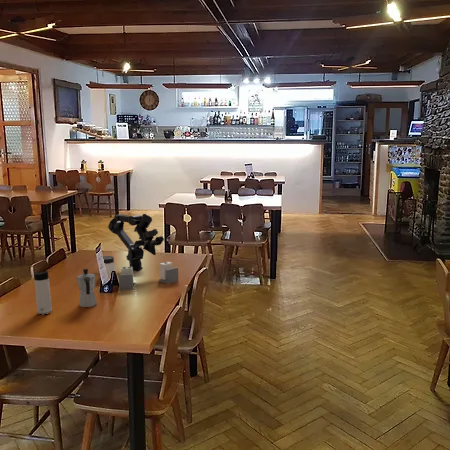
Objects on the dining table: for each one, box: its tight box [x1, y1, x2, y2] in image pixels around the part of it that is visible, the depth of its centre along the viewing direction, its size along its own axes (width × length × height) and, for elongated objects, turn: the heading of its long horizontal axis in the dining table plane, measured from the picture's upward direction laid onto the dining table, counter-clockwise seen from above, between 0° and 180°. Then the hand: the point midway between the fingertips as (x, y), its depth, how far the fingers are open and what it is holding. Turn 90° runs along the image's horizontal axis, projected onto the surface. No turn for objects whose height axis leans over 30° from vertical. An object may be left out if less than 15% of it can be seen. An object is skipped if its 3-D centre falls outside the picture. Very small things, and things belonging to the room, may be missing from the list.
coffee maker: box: [76, 268, 98, 308], centre depth 228 cm, size 15×9×18 cm, turn 21°
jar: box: [102, 255, 116, 277], centre depth 273 cm, size 9×8×12 cm
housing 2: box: [158, 266, 179, 285], centre depth 265 cm, size 8×7×8 cm
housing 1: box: [118, 273, 136, 291], centre depth 256 cm, size 8×7×8 cm
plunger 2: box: [159, 261, 173, 280], centre depth 266 cm, size 4×6×9 cm
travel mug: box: [33, 270, 53, 315], centre depth 219 cm, size 6×7×20 cm
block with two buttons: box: [120, 266, 134, 275], centre depth 258 cm, size 4×6×9 cm
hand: (155, 254), depth 272 cm, fingers closed
